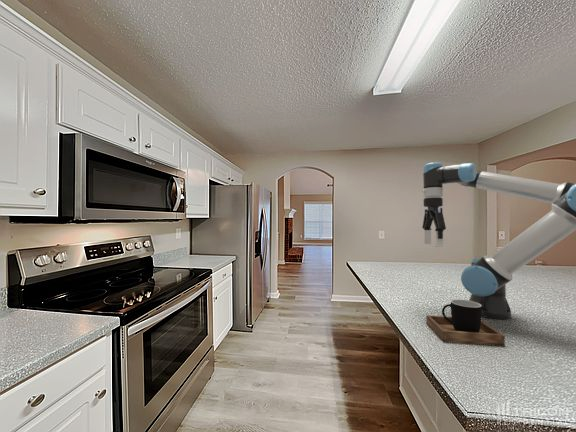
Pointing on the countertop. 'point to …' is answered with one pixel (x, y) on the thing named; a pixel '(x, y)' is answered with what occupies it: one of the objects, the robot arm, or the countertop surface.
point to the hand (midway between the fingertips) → (433, 245)
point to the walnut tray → (449, 334)
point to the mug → (465, 315)
